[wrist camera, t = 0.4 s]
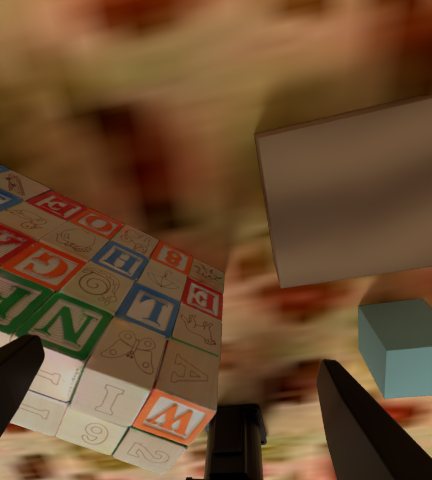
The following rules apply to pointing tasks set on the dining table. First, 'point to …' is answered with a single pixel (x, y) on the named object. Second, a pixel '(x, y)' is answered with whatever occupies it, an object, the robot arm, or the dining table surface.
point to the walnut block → (350, 193)
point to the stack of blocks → (108, 327)
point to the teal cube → (398, 346)
